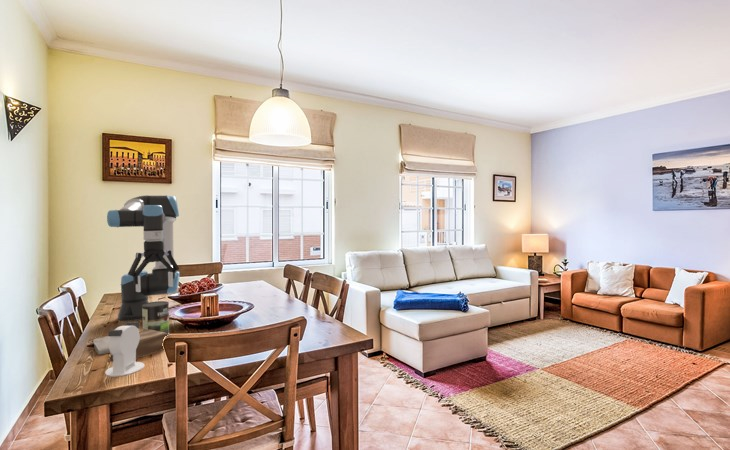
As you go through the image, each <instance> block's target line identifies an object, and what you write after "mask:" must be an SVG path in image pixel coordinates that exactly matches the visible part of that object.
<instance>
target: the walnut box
mask: <svg viewBox="0 0 730 450" xmlns="http://www.w3.org/2000/svg"><path fill="white" fill-rule="evenodd" d="M139 334H140V340H139V344H138V346H137V348H136V359H139V358H142V357H145V356H147V355H150V354H154V353H157V352H158V351H162V350H164V349H163V346H162V343H163V339H164V337H165V336H167V335H168V333H165V332H160V331H156V330H151V329H148V330H144V331H143V330H141V331H139ZM168 336H169V335H168Z"/></svg>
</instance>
